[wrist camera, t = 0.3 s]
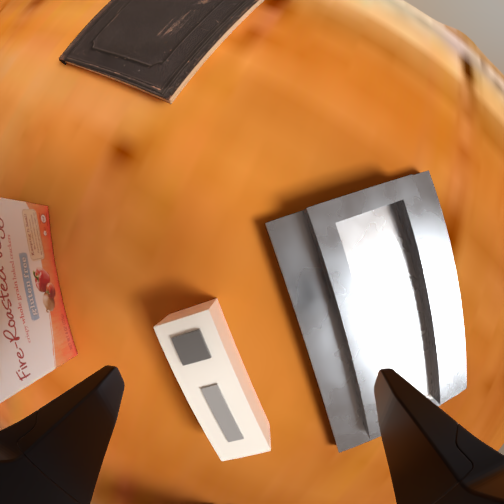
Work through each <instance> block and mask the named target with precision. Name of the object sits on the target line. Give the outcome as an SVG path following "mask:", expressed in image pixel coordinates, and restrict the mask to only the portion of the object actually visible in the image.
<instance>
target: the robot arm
mask: <svg viewBox="0 0 504 504" xmlns="http://www.w3.org/2000/svg"><path fill="white" fill-rule="evenodd" d="M123 391H124V381H123V379H122V377H121V374H120V372H119V370H118V368H117V367H115V366H109V365H107V366H104V367H103V368H101V369H100V370H98V371H97V372H95V373H94V374H92V375H91V376H89V377H88V378H86V379H85V380H83V381H82V382H80V383H79V384H77V385H76V386H74V387H72V388H71V389H69V390H68V391H66V392H65V393H63V394H62V395H60V396H59V397H57V398H56V399H54V400H52V401H51V402H49V403H48V404H46V405H45V406H43V407H42V408H40V409H39V410H37V411H35V412H34V413H32V414H31V415H29V416H27V417H26V418H24V419H22V420H21V421H19V422H17V423H15V424H13V425H11V426H9V427H7V428H5V429H3V430H1V431H0V504H90V502H91V499H92V495H93V492H94V488H95V485H96V482H97V478H98V475H99V472H100V469H101V465H102V462H103V459H104V456H105V453H106V450H107V447H108V444H109V441H110V438H111V435H112V432H113V429H114V427H115V423H116V420H117V416H118V412H119V408H120V404H121V399H122V395H123ZM374 395H375V401H376V408H377V415H378V422H379V428H380V433H381V437H382V441H383V445H384V449H385V453H386V457H387V461H388V465H389V469H390V474H391V478H392V483H393V488H394V492H395V497H396V502H397V504H504V455H502V454H501V453H499V452H497V451H496V450H494V449H493V448H491V447H490V446H488V445H486V444H485V443H484V442H482V441H481V440H479V439H478V438H476V437H475V436H474V435H472V434H471V433H470V432H468V431H467V430H466V429H465V428H463V427H462V426H461V425H460V424H458V423H457V422H456V421H455V420H454V419H453V418H451V417H450V416H449V415H448V414H446V413H445V412H444V411H443V410H442V409H440V408H439V407H438V406H437V405H436V404H434V403H433V402H432V401H431V400H430V399H428V398H427V397H426V396H425V395H424V394H422V393H421V392H420V391H419V390H418V389H416V388H415V387H414V386H413V385H412V384H410V383H409V382H408V381H407V380H406V379H404V378H403V377H402V376H401V375H400V374H398V373H397V372H396V371H395V370H394V369H392V368H384V369H380V370H379V372H378V375H377V378H376V381H375V385H374Z"/></svg>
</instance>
